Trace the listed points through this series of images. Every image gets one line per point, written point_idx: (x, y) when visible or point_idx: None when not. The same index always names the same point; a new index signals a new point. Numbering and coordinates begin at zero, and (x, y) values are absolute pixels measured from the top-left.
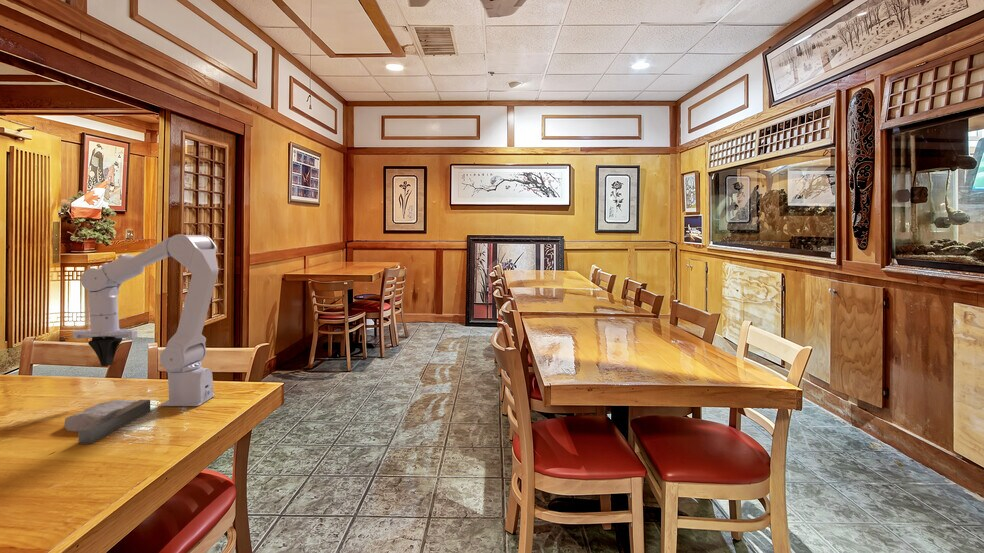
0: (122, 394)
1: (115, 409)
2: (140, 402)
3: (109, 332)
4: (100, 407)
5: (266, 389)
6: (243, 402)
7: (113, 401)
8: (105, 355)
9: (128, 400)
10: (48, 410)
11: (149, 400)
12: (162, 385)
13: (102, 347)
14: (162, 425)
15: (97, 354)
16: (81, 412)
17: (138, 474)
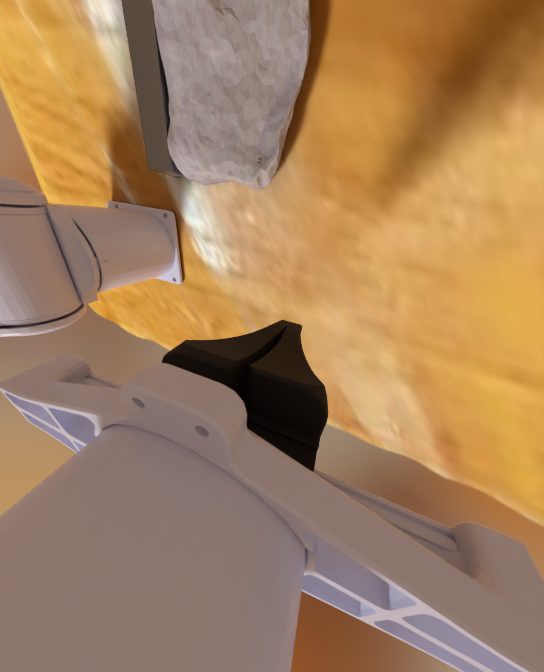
0: None
1: (155, 19)
2: (153, 139)
3: (80, 410)
4: (232, 84)
5: None
6: None
7: (223, 151)
8: (258, 331)
9: (196, 170)
10: (454, 232)
11: (149, 167)
12: None
13: (242, 348)
14: (81, 39)
15: (295, 345)
16: (298, 88)
17: None
